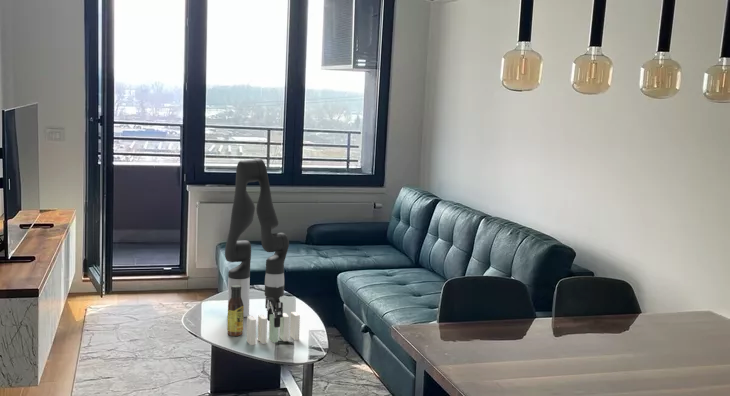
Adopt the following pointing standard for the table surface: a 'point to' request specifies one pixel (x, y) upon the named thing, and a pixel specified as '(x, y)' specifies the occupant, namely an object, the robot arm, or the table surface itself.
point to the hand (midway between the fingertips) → (273, 323)
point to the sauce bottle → (235, 312)
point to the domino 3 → (273, 330)
